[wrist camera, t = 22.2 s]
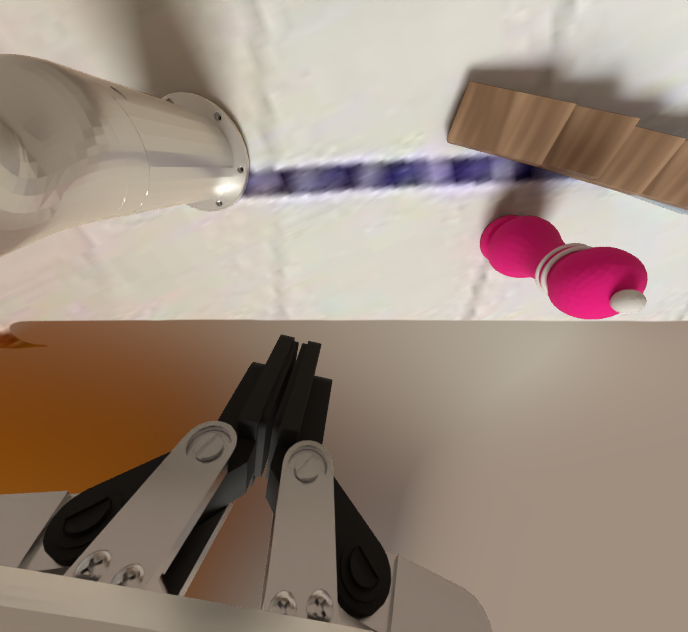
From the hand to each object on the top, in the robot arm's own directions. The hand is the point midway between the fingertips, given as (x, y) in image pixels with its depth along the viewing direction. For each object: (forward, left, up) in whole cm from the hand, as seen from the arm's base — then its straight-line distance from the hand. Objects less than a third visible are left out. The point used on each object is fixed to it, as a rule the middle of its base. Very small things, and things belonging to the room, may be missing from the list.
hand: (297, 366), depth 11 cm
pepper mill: (+21, +4, -29) cm, 37 cm away
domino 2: (+15, +15, -28) cm, 35 cm away
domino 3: (+21, +15, -28) cm, 38 cm away
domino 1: (+9, +15, -28) cm, 33 cm away
